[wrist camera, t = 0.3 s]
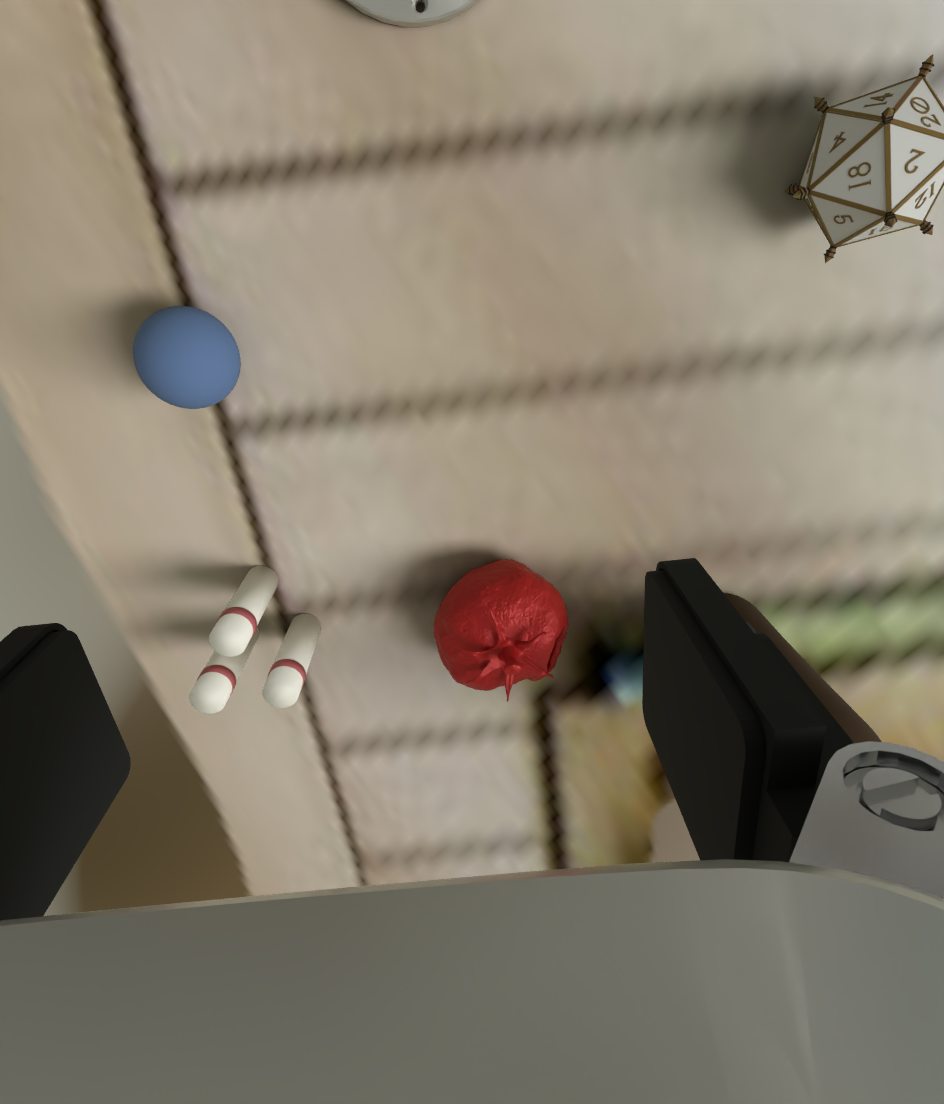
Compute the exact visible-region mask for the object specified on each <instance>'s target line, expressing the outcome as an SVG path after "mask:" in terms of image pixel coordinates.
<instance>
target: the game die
mask: <svg viewBox="0 0 944 1104" xmlns="http://www.w3.org/2000/svg"><path fill="white" fill-rule="evenodd" d="M922 64H923V65H922V67H921V68H920V69H919V70H920V72H919V75H918V76H917V77H914V78H911V79H908V80H905V81H902V82H899V83H897V84H894V85H891V86H888V87H885V88H882V89H880V90H877V91H874V92H871V93H868V94H865V95H863V96H860V97H857V98H854V99H851V100H848V101H846V102H843V103H840V104H837V105H834V106H831V107H828V106H827V101H826V102H825V100H824V99H825V98H818V97H815V107H814V108H817V109H818V110H817V111H821V112H822V113H823V115H822V118H821V121H820V124H819V126H818V129H817V132H816V135H815V138H814V141H813V144H812V147H811V150H810V153H809V156H808V159H807V162H806V165H805V168H804V171H803V174H802V177H801V180H800V183H799V185H798V184H796V183H795V184H794V185H792V184H791V185H790V186H789V188H788V189H787V190H786V191H785V192H787V193H789V194H791V195H793V193H795V194H794V195H793V197H794V198H796V199H798V200H801V199H802V198H804V200H805V201H806V203H807V205H808V207H809V208H810V210H811V212H812V214H813V215H814V217H815V219H816V221H817V222H818V224H819V226H820V228H821V229H822V231H823V233H824V235H825V236H826V238H827V240H828V242H829V243H830V245H831V246H830V248H829V249H828V250H826V251H827V252H826V254H824V255H825V263H826V262H828V261H829V260H830V259H832V258H834V257H833V256H834V254H835V253H836V252H835V250H836V248H837V247H840V246H844V245H848V244H851V243H855V242H859V241H862V240H866V239H870V238H874V237H877V236H881V235H885V234H888V233H892V232H896V231H900V230H903V229H907V228H911V227H914V226H918V225H919V226H920V228H921V229H920V230H922V231H923V232H922V233H923V234H925V233H926V234H930V235H932V231H933V226H934V225H931V224H930V223H931V222H927V221H926V220H925V219H926V217H927V216H928V214H929V212H930V210H931V208H932V206H933V204H934V203H935V201H936V199H937V197H938V195H939V193H940V191H941V189H942V188H943V186H944V106H943V105H942V103H941V102H940V100H939V98H938V97H937V95H936V94H935V92H934V91H933V89H932V88H931V86H930V85H929V83H928V82H927V80H926V78H925V77H926V75H927V74H928V72H930V71H931V70H930V69H931V68H932V66H934V64H933V54H932V55H931V56H930V57H929V58H928V59H927V60H926V61H925V62H922Z"/></svg>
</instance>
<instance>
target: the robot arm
mask: <svg viewBox="0 0 944 1104" xmlns="http://www.w3.org/2000/svg"><path fill="white" fill-rule="evenodd" d="M345 1H347V2H348V3H349V4H351V5H352V6H354V7H355V8H356V9H358V10H359V11H360V12H362V13H364V14H366V15H368V16H370V17H373V18H375V19H377V20H379V21H381V22H384V23H388V24H393V25H398V26H403V27H426V26H431V25H435V24H438V23H442V22H446V21H449V20H451V19H453V18H455V17H457V16H458V15H460V14H462V13H464V12H466V11H468V10H469V9H471V8H472V7H473V6H474V5H475V4H476V3H478V2H479V1H480V0H345ZM418 3H423V4H424V5H425V10H424V11H423V12H421V13H420V12H418V11H417V10H416V5H417V4H418ZM642 703H643V714H644V720H645V724H646V727H647V729H648V732H649V734H650V737H651V739H652V742H653V744H654V747H655V749H656V752H657V754H658V757H659V759H660V762H661V764H662V767H663V769H664V771H665V774H666V776H667V779H668V781H669V784H670V786H671V789H672V791H673V794H674V796H675V799H676V801H677V804H678V806H679V808H680V811H681V814H682V816H683V818H684V821H685V823H686V826H687V828H688V831H689V833H690V836H691V838H692V841H693V843H694V846H695V848H696V851H697V853H698V855H699V858H700V861H680V862H655V863H637V864H619V865H607V866H595V867H584V868H572V869H558V870H544V871H530V872H519V873H508V874H496V875H485V876H474V877H462V878H451V879H439V880H428V881H417V882H405V883H394V884H383V885H371V886H360V887H348V888H337V889H326V890H315V891H305V892H294V893H283V894H272V895H261V896H251V897H241V898H230V899H219V900H208V901H197V902H187V903H176V904H165V905H155V906H144V907H134V908H124V909H113V910H103V911H93V912H82V913H72V914H62V915H52V916H43V915H44V914H45V912H46V910H47V909H48V907H49V905H50V904H51V902H52V900H53V899H54V897H55V895H56V894H57V892H58V891H59V889H60V887H61V885H62V884H63V882H64V880H65V879H66V877H67V876H68V874H69V873H70V871H71V869H72V868H73V866H74V864H75V862H76V861H77V859H78V858H79V856H80V854H81V853H82V851H83V849H84V848H85V846H86V845H87V843H88V841H89V840H90V838H91V836H92V835H93V833H94V831H95V830H96V828H97V826H98V825H99V823H100V821H101V820H102V818H103V816H104V815H105V813H106V812H107V810H108V808H109V807H110V805H111V803H112V802H113V800H114V798H115V797H116V795H117V793H118V792H119V790H120V789H121V787H122V785H123V784H124V782H125V780H126V779H127V776H128V774H129V771H130V756H129V753H128V750H127V748H126V746H125V743H124V741H123V739H122V736H121V734H120V732H119V730H118V727H117V725H116V723H115V721H114V718H113V716H112V714H111V711H110V709H109V707H108V704H107V702H106V700H105V698H104V696H103V693H102V691H101V688H100V686H99V684H98V681H97V679H96V677H95V675H94V672H93V670H92V668H91V665H90V663H89V661H88V659H87V656H86V654H85V652H84V650H83V647H82V645H81V643H80V640H79V639H78V637H77V635H76V634H75V633H74V632H72V631H69V630H67V629H66V628H65V627H64V626H63V625H61V624H58V623H51V624H41V625H31V626H22V627H18V628H16V629H15V630H13V631H12V632H11V633H10V634H9V635H7V636H6V637H5V638H4V639H3V640H2V641H1V642H0V1104H944V763H943V762H942V761H940V760H939V759H937V758H935V757H933V756H931V755H928V754H926V753H923V752H921V751H918V750H916V749H914V748H910V747H906V746H902V745H898V744H893V743H888V742H871V741H867V742H861V743H854V742H853V741H852V740H851V738H850V737H849V736H848V735H847V733H846V732H845V731H844V730H843V728H842V727H841V726H840V725H839V724H838V722H837V721H836V720H835V719H834V717H833V716H832V715H831V714H830V712H829V711H828V710H827V709H826V707H825V706H824V705H823V704H822V702H821V701H820V700H819V699H818V698H817V696H816V695H815V694H814V693H813V691H812V690H811V689H810V688H809V686H808V685H807V684H806V683H805V681H804V680H803V679H802V678H801V676H800V675H799V674H798V673H797V672H796V670H795V669H794V668H793V667H792V665H791V664H790V663H789V662H788V660H787V659H786V658H785V657H784V655H783V654H782V653H781V652H780V650H779V649H778V648H777V647H776V646H775V644H774V643H773V642H772V641H771V639H770V638H769V637H767V636H766V635H765V634H764V633H760V632H753V631H752V630H751V628H750V627H749V626H748V624H747V623H746V622H745V621H744V619H743V618H742V617H741V615H740V614H739V613H738V612H737V610H736V609H735V608H734V606H733V605H732V604H731V603H730V601H729V600H728V599H727V597H726V596H725V595H724V594H723V592H722V591H721V590H720V588H719V587H718V586H717V585H716V583H715V582H714V581H713V580H712V578H711V577H710V576H709V574H708V573H707V572H706V571H705V569H704V568H703V567H702V565H701V564H700V563H699V562H698V560H696V559H695V558H691V559H681V560H671V561H661V562H659V563H658V564H657V568H656V571H650V572H647V573H646V576H645V605H644V654H643V702H642Z"/></svg>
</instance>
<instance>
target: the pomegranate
mask: <svg viewBox="0 0 944 1104" xmlns="http://www.w3.org/2000/svg"><path fill="white" fill-rule="evenodd" d="M567 627H568V617H567V613H566V607H565V604H564V601H563V599H562V597H561V595H560V593H559V592H558V591H557V590H556V589H555V588H554V587H553V585H552V584H551V583H549V582H547V581H546V580H545V579H544V578H542V577H541V576H540V575H538V574H536V573H534V572H532V571H531V570H530V569H529V568H527V567H526V566H525V565H524V564H522V563H519V562H516V561H514V560H509V559H504V560H498V561H495V562H493V563H490V564H487V565H485V566H483V567H480V568H475V569H473V570H471V571H469V572H467V573H466V574H465V575H464V576H463V577H462V578H461V579H460V580H459V581H458V582H457V583H456V584H455V585H454V586H453V587H452V588H451V589H450V591H449V592H448V594H447V595H446V597H445V598H444V600H443V602H442V604H441V605H440V608H439V610H438V612H437V614H436V617H435V621H434V638H435V640H436V644H437V648H438V652H439V655H440V658H441V660H442V662H443V664H444V666H445V667H446V669H447V670H448V671H449V672H450V674H451V675H452V677H453V678H454V680H455V681H456V682H458V683H460V684H463V685H465V686H467V687H470V688H473V689H476V690H484V691H488V690H492V689H495V688H497V687H499V686H505V687H506V694H507V702H508V699H509V692H510V689H511V687H512V684H515V683H517V682H519V681H521V680H524V679H529V680H531V681H537V680H540V679H542V678H543V677H544V676H548V677H552V678H554V677H553V676H552V675H550V674H548V673H549V672H550V671H551V670H552V669H553V668H554V667H555V664H556V661H557V658H558V656H559V654H560V652H561V648H562V643H563V641H564V640H565V637H566V634H567V632H566V630H567Z"/></svg>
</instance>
